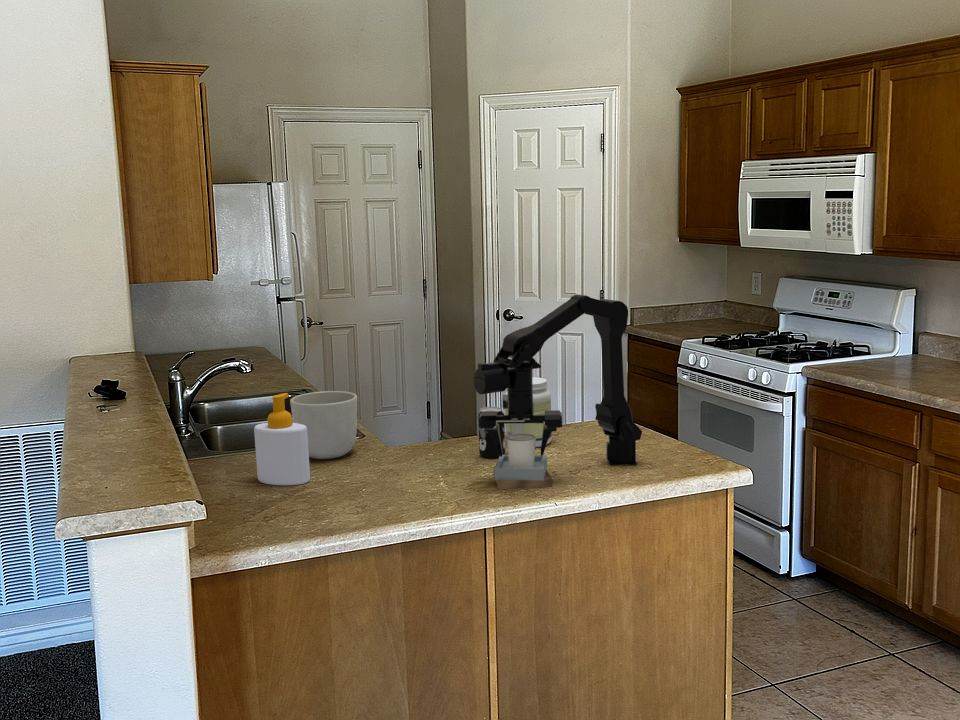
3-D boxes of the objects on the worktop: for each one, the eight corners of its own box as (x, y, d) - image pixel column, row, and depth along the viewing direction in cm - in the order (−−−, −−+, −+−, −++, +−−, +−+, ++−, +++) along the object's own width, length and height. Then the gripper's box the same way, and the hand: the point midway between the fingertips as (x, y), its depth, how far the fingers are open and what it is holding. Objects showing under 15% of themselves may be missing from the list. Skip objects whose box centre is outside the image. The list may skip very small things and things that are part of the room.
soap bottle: (317, 477, 211) (312, 393, 208) (299, 487, 203) (294, 401, 200) (269, 473, 215) (263, 391, 212) (249, 483, 208) (243, 398, 204)
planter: (368, 446, 237) (365, 391, 235) (348, 464, 221) (344, 405, 218) (308, 445, 240) (304, 390, 238) (283, 463, 224) (279, 404, 221)
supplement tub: (558, 439, 240) (557, 377, 237) (542, 450, 229) (541, 386, 226) (515, 435, 245) (514, 375, 242) (498, 446, 234) (496, 383, 231)
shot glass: (504, 463, 207) (504, 434, 206) (533, 461, 207) (533, 432, 206) (509, 471, 200) (508, 441, 199) (539, 469, 201) (538, 439, 200)
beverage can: (502, 459, 222) (501, 412, 220) (477, 458, 223) (475, 412, 221) (507, 452, 228) (506, 406, 226) (482, 451, 229) (480, 406, 227)
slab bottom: (544, 474, 211) (544, 464, 210) (551, 489, 199) (551, 479, 199) (493, 477, 210) (493, 466, 210) (498, 492, 198) (498, 481, 198)
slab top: (547, 466, 209) (546, 455, 208) (543, 480, 198) (543, 468, 197) (500, 465, 210) (500, 454, 210) (494, 479, 199) (494, 468, 199)
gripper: (560, 381, 208) (561, 446, 211) (481, 382, 209) (483, 447, 212) (561, 391, 197) (562, 459, 200) (477, 392, 198) (479, 460, 201)
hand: (521, 456), depth 203 cm, fingers open, 9 cm apart
